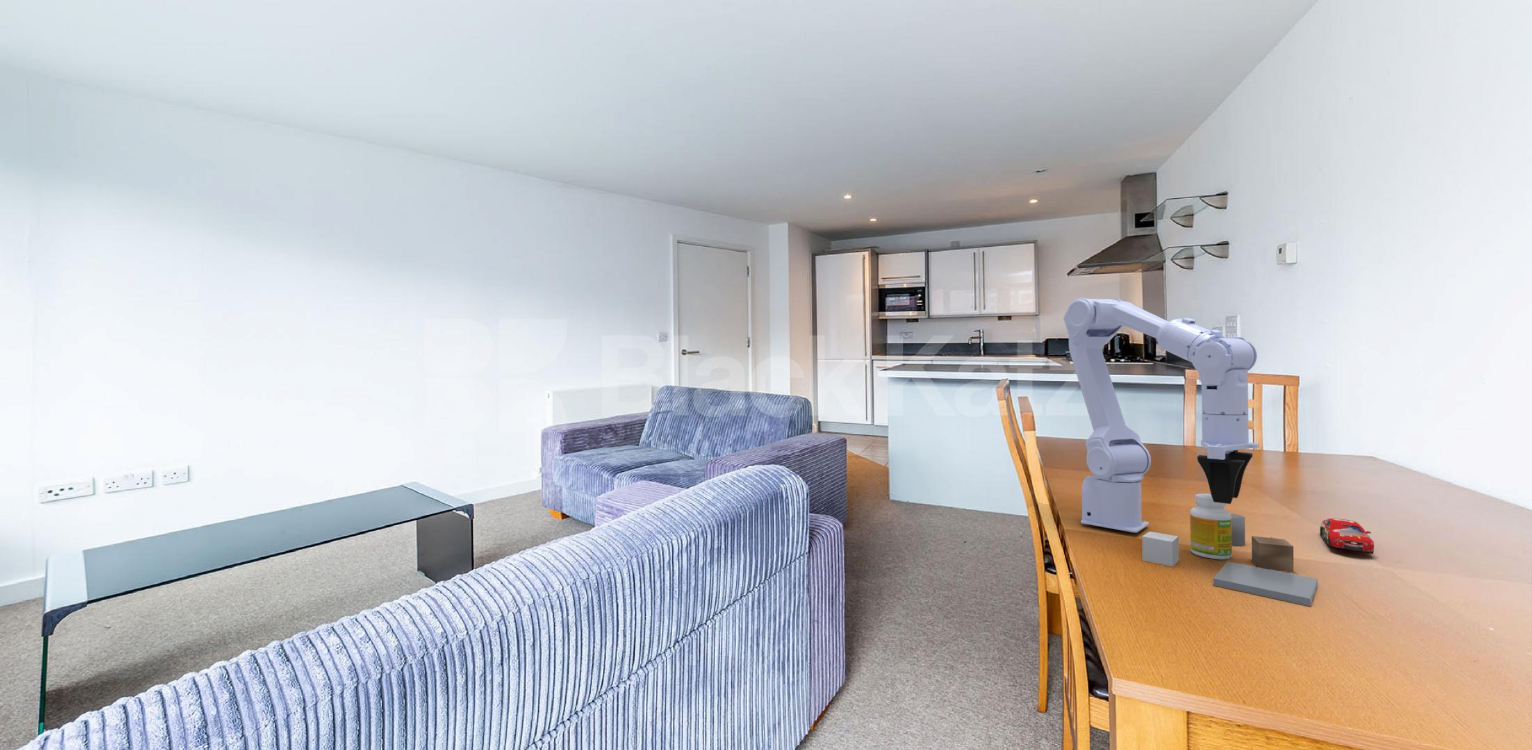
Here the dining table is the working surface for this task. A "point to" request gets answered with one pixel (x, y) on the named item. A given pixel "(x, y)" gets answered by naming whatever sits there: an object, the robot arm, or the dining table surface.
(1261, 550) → the walnut block
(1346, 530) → the race car
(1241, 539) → the slate grey block
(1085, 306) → the robot arm
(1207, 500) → the supplement bottle
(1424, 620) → the dining table surface
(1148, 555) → the grey block
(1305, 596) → the slate tile
